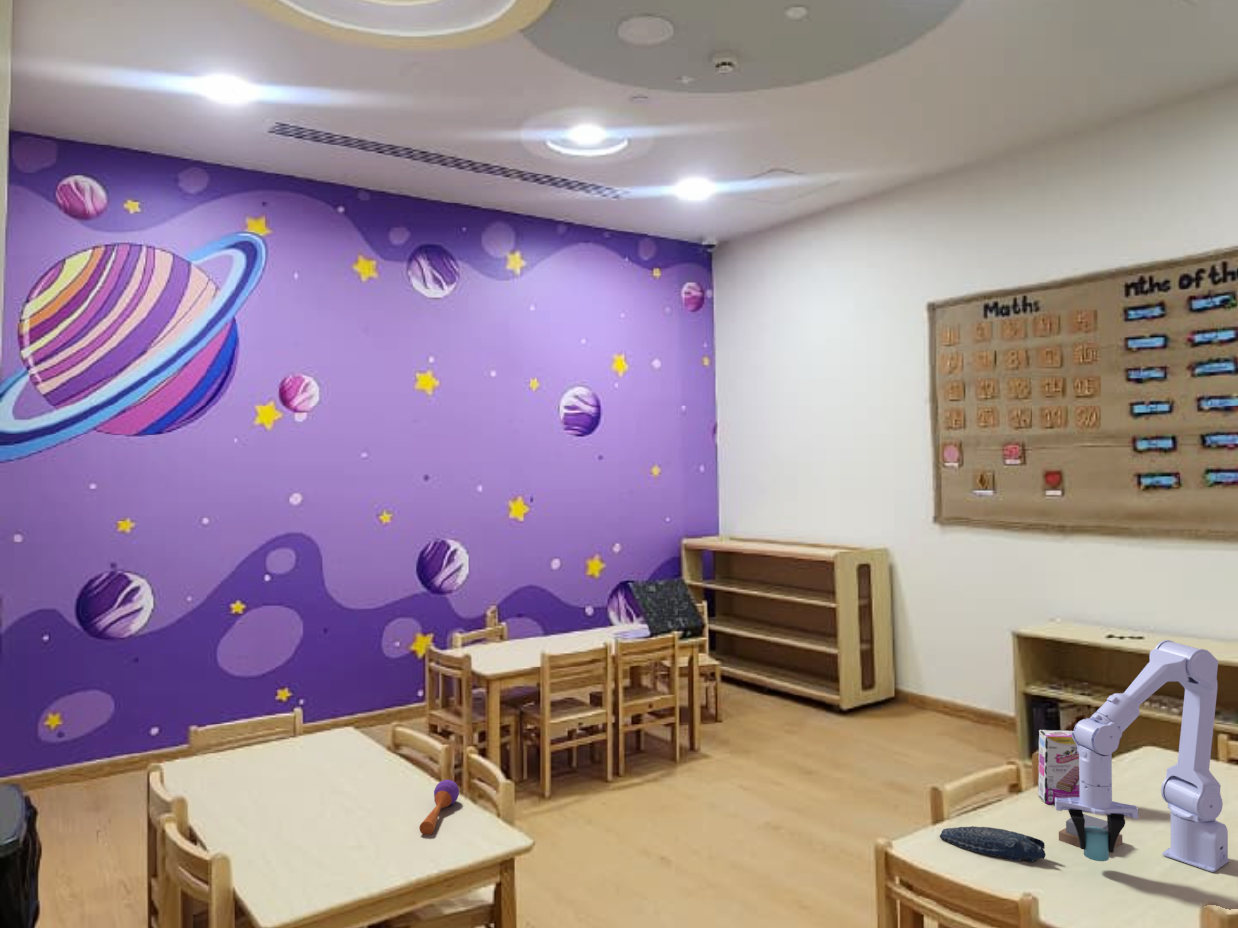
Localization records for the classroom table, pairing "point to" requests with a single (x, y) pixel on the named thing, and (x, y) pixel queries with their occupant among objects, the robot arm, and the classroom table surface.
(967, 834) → the fish model
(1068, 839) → the walnut base slab
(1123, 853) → the classroom table surface
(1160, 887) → the classroom table surface
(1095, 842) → the teal cylinder
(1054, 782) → the candy bar box
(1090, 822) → the purplish gray square slab
